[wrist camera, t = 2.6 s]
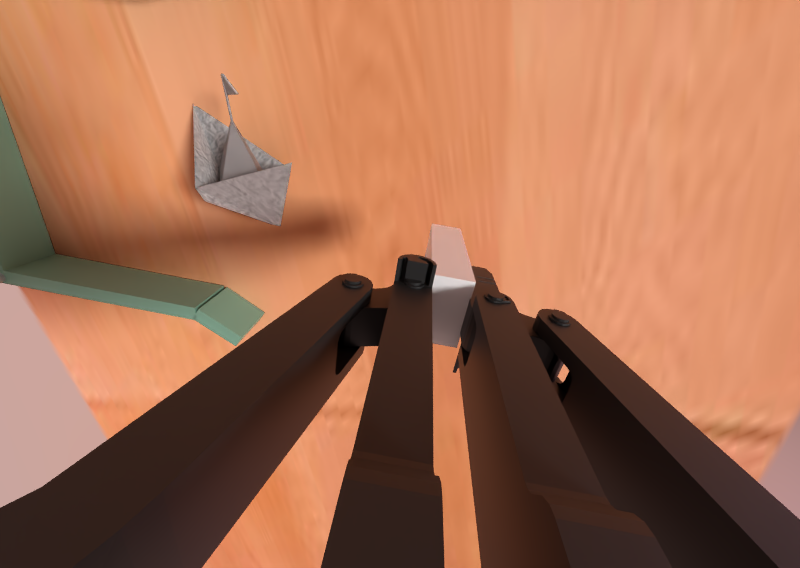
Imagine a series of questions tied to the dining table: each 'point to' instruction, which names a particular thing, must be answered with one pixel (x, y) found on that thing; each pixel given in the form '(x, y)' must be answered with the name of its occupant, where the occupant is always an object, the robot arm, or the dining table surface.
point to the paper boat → (237, 168)
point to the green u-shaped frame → (99, 263)
